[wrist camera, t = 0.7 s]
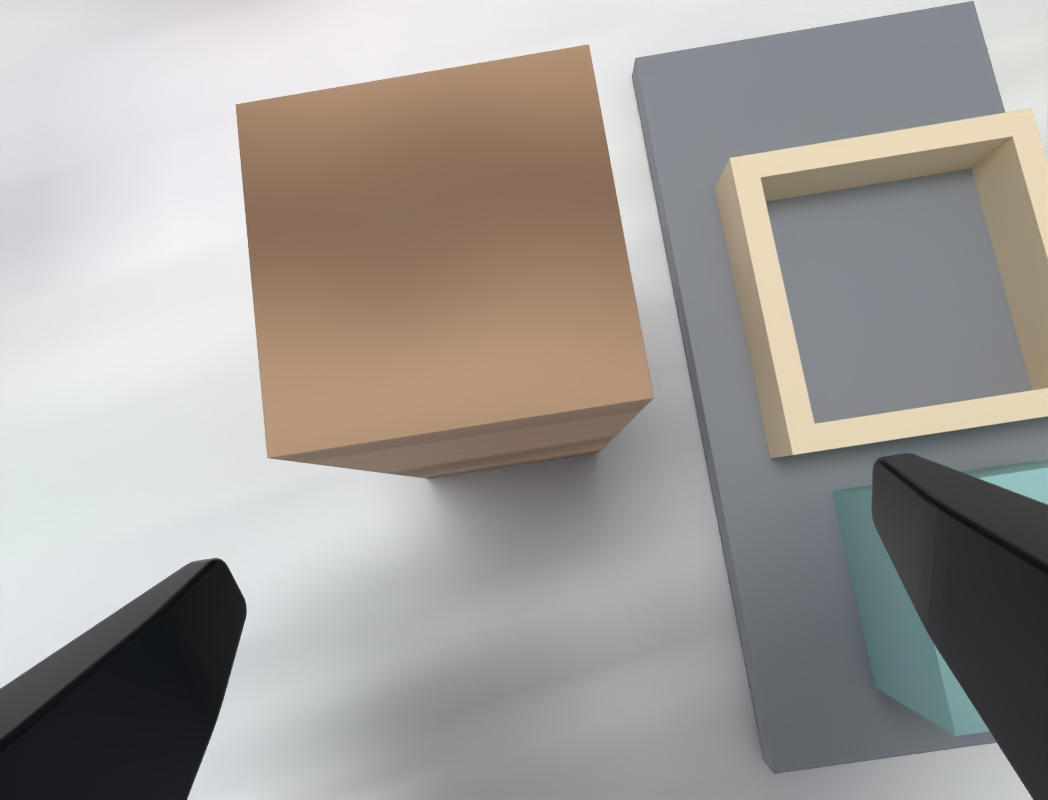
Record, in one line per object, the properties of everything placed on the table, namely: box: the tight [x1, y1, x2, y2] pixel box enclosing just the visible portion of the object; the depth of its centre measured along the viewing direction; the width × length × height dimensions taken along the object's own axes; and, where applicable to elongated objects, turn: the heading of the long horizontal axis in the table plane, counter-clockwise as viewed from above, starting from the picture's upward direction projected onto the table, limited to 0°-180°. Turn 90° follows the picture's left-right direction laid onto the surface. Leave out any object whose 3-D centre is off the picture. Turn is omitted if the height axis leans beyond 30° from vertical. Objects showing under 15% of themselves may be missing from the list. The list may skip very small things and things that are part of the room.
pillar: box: [236, 45, 653, 478], centre depth 17 cm, size 6×6×12 cm
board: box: [632, 1, 1048, 774], centre depth 20 cm, size 24×12×5 cm, turn 9°
